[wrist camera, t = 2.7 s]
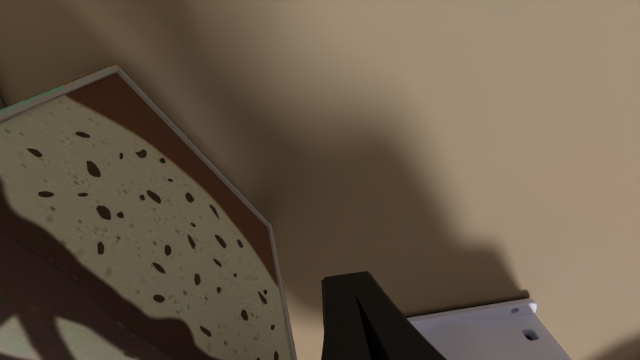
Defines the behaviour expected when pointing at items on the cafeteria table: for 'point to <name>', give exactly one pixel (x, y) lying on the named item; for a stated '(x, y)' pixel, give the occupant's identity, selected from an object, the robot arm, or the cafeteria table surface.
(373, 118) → the cafeteria table surface
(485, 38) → the cafeteria table surface
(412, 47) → the cafeteria table surface
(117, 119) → the food container
